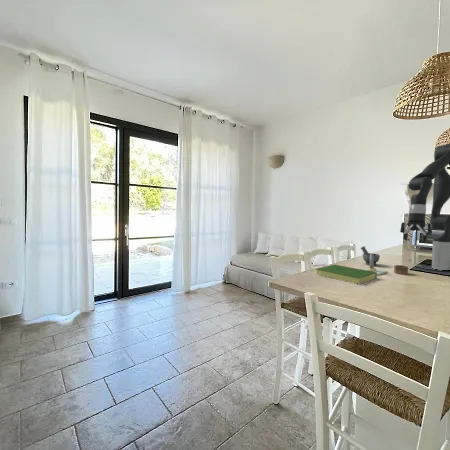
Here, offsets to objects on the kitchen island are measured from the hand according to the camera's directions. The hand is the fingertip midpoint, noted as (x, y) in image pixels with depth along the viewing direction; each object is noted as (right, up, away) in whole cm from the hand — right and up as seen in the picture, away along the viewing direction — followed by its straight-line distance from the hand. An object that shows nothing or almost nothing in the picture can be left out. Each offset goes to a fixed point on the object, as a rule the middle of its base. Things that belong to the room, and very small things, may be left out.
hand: (414, 241), depth 142 cm
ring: (-6, -19, +2) cm, 20 cm away
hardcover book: (-41, -20, -3) cm, 46 cm away
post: (-22, -19, +5) cm, 29 cm away
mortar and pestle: (-11, -18, +25) cm, 33 cm away
